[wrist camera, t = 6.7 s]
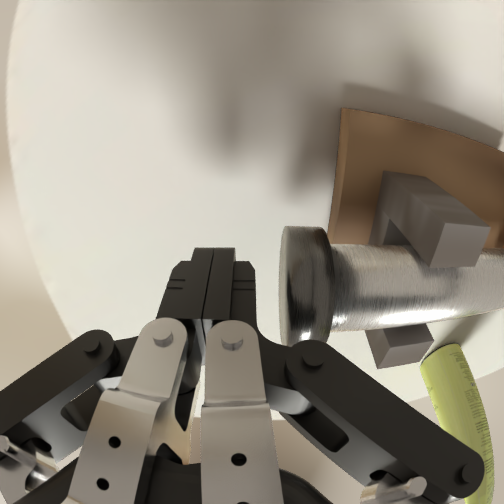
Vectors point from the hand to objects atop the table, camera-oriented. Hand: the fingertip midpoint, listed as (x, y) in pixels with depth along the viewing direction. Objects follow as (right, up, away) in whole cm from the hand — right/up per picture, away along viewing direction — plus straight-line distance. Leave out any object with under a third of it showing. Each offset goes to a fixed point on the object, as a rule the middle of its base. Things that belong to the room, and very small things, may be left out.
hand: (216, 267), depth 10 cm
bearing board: (+15, +2, +3) cm, 16 cm away
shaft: (+12, 0, +1) cm, 12 cm away
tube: (+20, -10, +11) cm, 25 cm away
